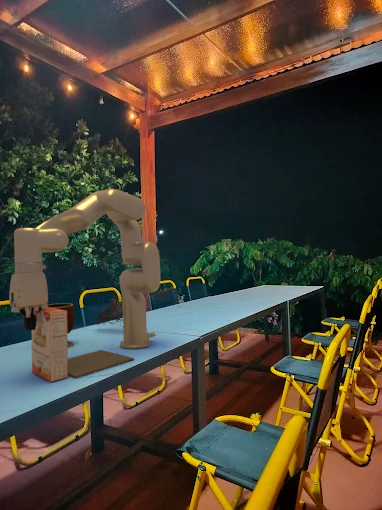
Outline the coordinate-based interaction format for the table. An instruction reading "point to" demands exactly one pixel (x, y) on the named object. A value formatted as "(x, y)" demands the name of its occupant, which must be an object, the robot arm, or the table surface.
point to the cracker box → (50, 345)
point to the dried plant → (117, 311)
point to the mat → (94, 363)
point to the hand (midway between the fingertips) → (30, 329)
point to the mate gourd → (70, 316)
